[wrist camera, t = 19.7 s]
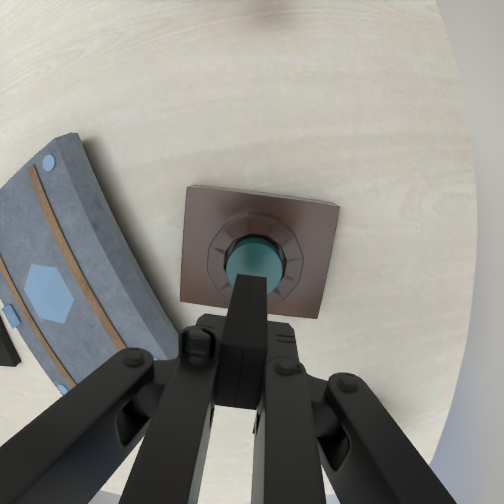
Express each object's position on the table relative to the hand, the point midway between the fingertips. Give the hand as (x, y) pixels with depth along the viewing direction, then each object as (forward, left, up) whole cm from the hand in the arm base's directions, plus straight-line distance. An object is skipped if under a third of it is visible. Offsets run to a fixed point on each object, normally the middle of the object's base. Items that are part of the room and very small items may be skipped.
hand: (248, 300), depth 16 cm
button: (0, 0, -6) cm, 6 cm away
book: (+17, +5, -10) cm, 20 cm away
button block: (0, 0, -10) cm, 10 cm away
